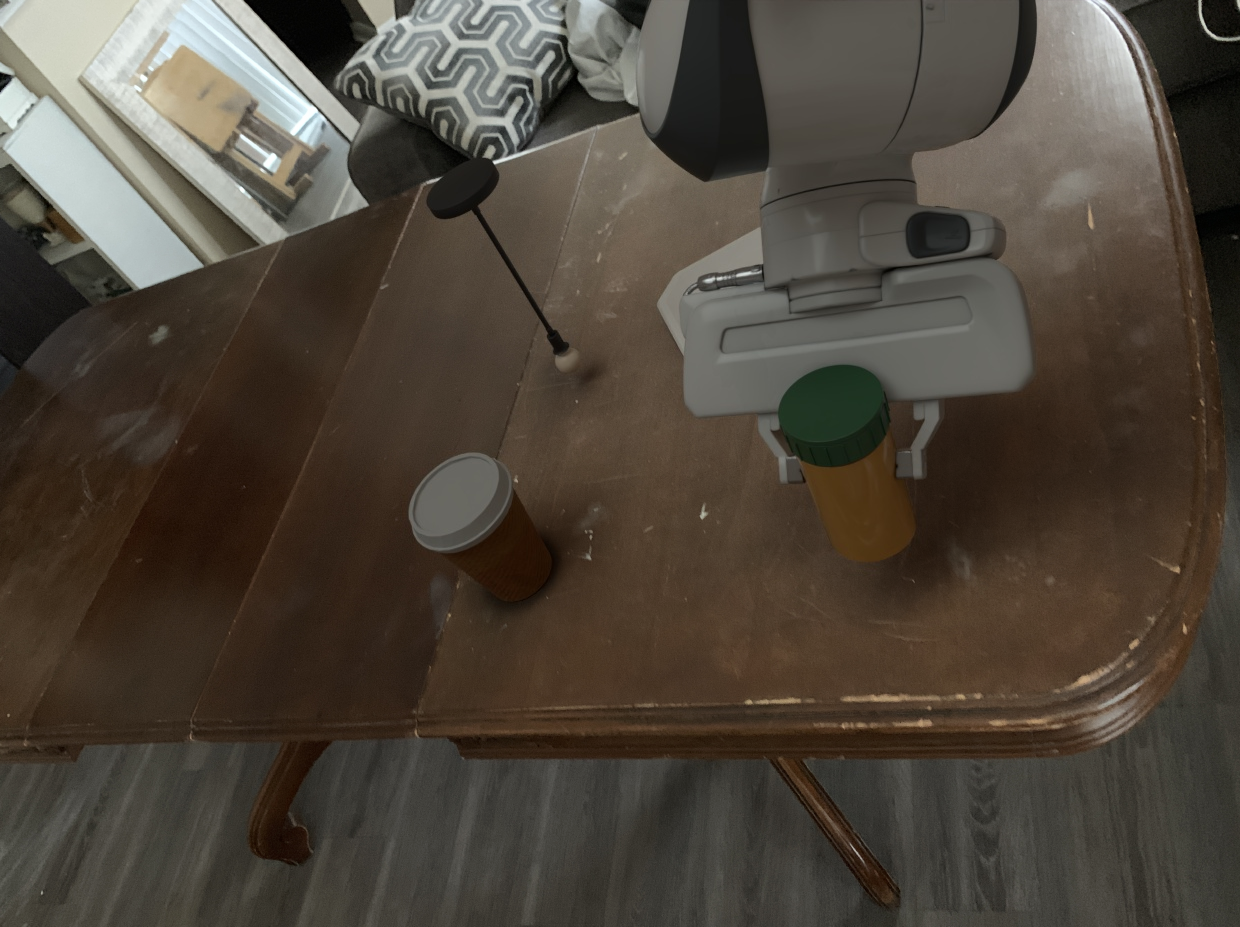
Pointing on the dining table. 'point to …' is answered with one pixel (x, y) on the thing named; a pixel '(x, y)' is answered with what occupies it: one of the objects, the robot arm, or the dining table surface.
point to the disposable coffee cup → (480, 525)
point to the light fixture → (490, 232)
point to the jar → (863, 504)
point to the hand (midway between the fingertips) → (852, 481)
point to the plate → (722, 260)
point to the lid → (834, 415)
